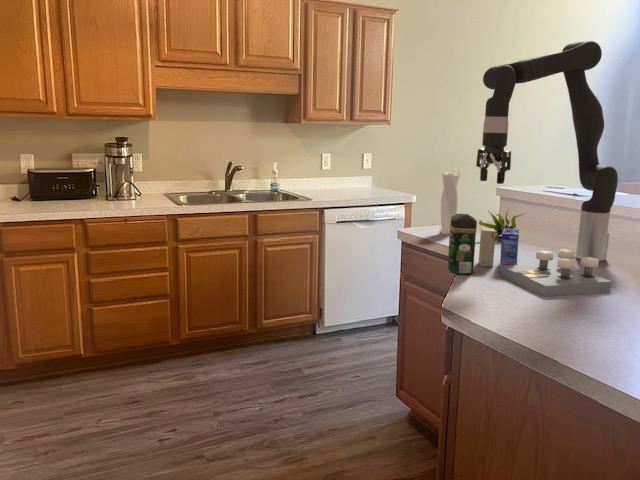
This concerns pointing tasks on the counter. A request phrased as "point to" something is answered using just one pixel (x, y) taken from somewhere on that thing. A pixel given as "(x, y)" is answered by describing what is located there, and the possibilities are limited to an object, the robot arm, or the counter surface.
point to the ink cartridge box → (509, 246)
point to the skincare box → (487, 247)
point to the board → (554, 280)
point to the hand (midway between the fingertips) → (491, 182)
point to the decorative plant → (500, 223)
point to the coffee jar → (462, 244)
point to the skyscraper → (448, 200)
